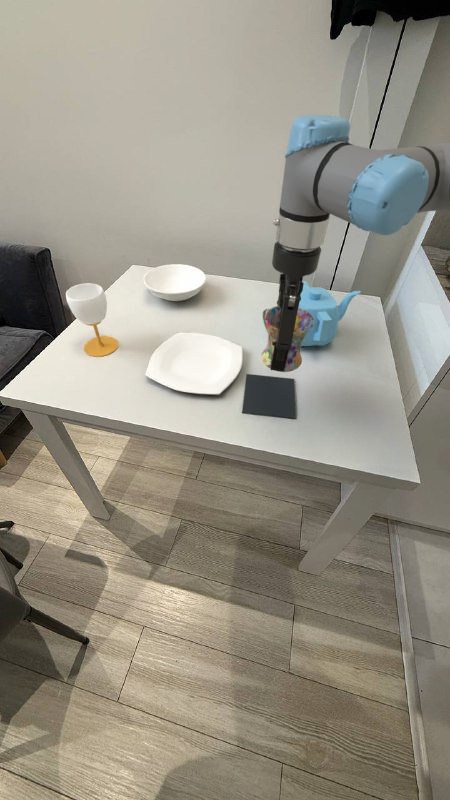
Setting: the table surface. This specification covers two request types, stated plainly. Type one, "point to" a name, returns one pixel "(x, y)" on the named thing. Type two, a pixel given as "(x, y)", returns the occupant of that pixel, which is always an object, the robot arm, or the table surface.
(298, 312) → the mug
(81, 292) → the cup
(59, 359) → the table surface
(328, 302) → the teapot
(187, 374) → the plate
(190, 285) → the bowl
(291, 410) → the left mat
